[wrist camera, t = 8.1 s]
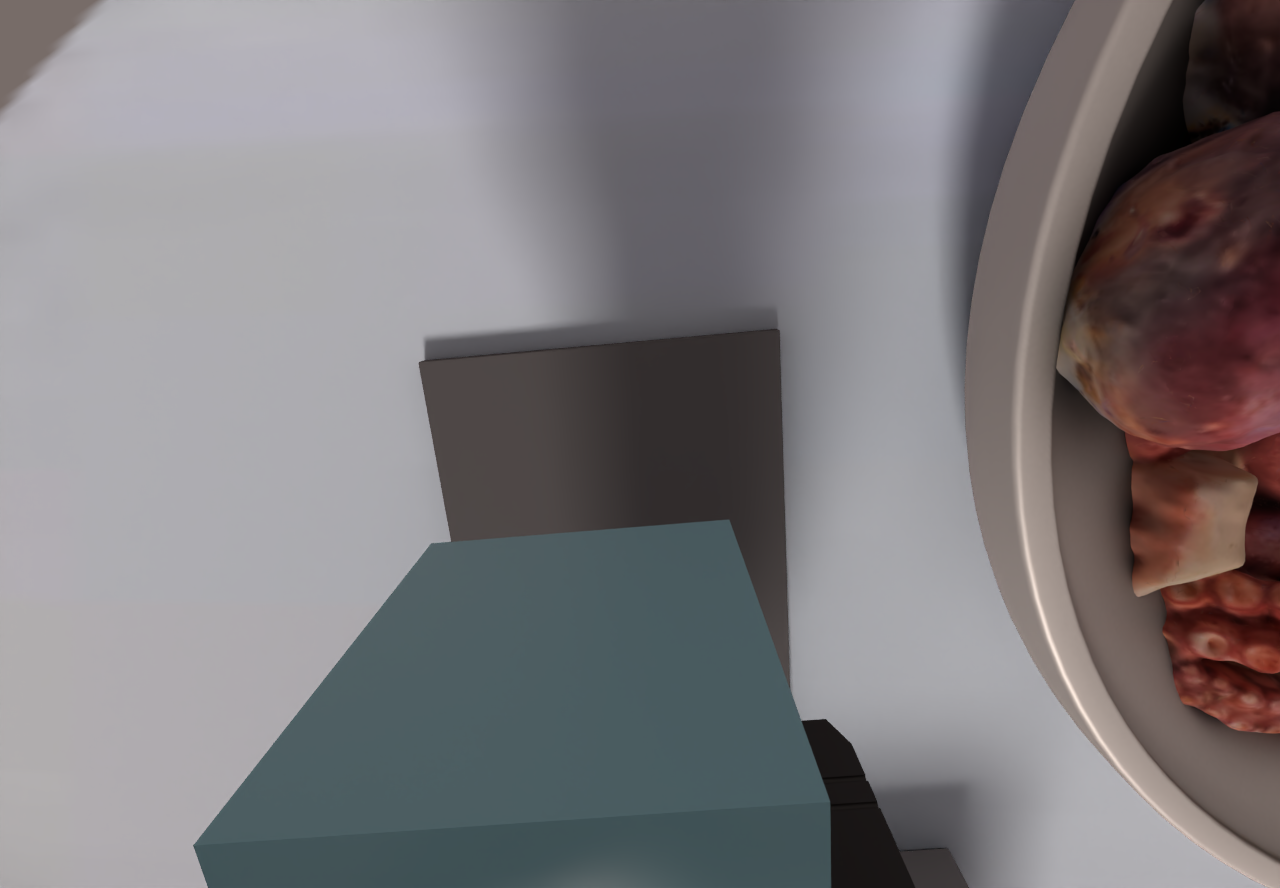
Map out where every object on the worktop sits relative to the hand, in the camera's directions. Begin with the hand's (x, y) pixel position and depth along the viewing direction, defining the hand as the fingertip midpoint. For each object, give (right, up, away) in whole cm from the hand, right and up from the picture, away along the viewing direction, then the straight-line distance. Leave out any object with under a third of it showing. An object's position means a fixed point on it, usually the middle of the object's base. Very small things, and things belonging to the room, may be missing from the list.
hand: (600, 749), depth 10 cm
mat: (0, -1, +8) cm, 9 cm away
